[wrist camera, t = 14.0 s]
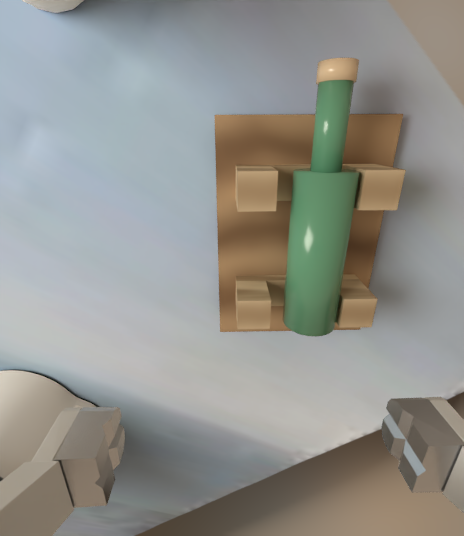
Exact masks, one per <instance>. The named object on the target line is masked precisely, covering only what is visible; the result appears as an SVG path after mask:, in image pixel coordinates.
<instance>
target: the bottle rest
mask: <svg viewBox="0 0 464 536" xmlns="http://www.w3.org/2000/svg"><path fill="white" fill-rule="evenodd" d="M402 118H403V114H349V121H348V129H347V136H346V143H345V151H344V158H343V165H342V169H350V170H356V171H359V172H360V173H359V179H358V185H357V192H356V198H355V204H354V211H353V217H352V223H351V229H350V236H349V242H348V248H347V255H346V261H345V267H344V273H343V280H342V286H341V292H340V299H339V305H338V311H337V317H336V324H335V328H334V330H357V329H360V327H371V326H372V322H373V317H374V313H375V308H376V304H377V298H376V297H375V296H374V295H373V294H372V293H371V291H370V290H369V289H368V287H369V282H370V277H371V272H372V267H373V262H374V257H375V252H376V247H377V242H378V237H379V232H380V227H381V222H382V217H383V212H384V210H397V207H398V203H399V198H400V194H401V189H402V184H403V180H404V175H405V171H406V170H403V169H398V168H393V163H394V158H395V153H396V148H397V143H398V138H399V133H400V128H401V123H402ZM314 123H315V114H314V115H215V145H216V184H217V222H218V261H219V300H220V332H235V331H292V330H290V329H289V328H288V327H286V325H285V324H284V322H283V305H284V292H285V278H286V265H287V251H288V237H289V224H290V210H291V197H292V183H293V170H295V169H302V168H310V165H311V155H312V144H313V134H314Z"/></svg>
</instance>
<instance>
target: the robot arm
mask: <svg viewBox="0 0 464 536" xmlns="http://www.w3.org/2000/svg"><path fill="white" fill-rule="evenodd" d="M386 409H387V410H388V412H389V413H390V414H389V415H387V416H386V417H385V418H384V419H383V423H382V435H383V439H384V442H385V445H386V447H387V448H388V450H389V452H390V454H392V455H393V456H394V457H396V458H397V459H398V460H399V470H400V472H401V474H402V475H403V477H404V479H405V481H406V482H407V484H408V486H409V488H410V490H411V491H412V492H443V495H444V496H445V497H446V498H448V499H449V500H450V501H451V502H452V503H453V504H454V505H455V506H456V507H458V508H459V509H460V510H461V511H462V512H463V513H464V420H463V419H462V418H461V417H460V415H459V414H458V413H457V412H456V411H455V410H454V409H453V408H452V406H451V405H450V404H449V403H448V402H447V401H446V400H445V399H443V398H441V397H426V398H398V399H391V400H389V401H388V404H387V407H386ZM120 419H121V412H120V408H118V407H96V406H95V405H93V404H92V403H89V402H87V401H85V400H82V399H80V398H77V397H76V396H74V395H73V394H71V393H70V392H69V391H68V390H66V389H65V388H64V387H62V386H61V385H59V384H58V383H56V382H54V381H52V380H51V379H48V378H46V377H44V376H41V375H38V374H34V373H30V372H25V371H16V370H7V371H0V536H52V535H53V534H54V533H55V532H56V530H57V529H58V528H59V527H60V526H61V524H62V523H63V522H64V521H65V520H66V519H67V517H68V516H69V515H70V514H71V513H72V512H73V510H74V508H76V507H90V506H103V505H107V503H108V500H109V497H110V493H111V490H112V487H113V484H114V481H115V477H114V472H113V470H114V469H115V468H116V467H117V466H118V465H119V464H120V461H121V458H122V454H123V449H124V443H125V433H124V427H123V426H121V425H120V424H119V422H120Z"/></svg>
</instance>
